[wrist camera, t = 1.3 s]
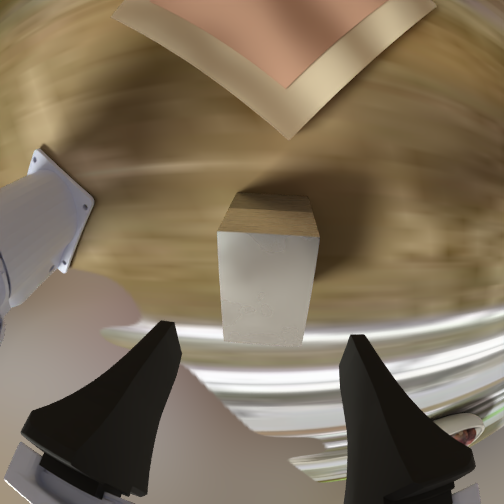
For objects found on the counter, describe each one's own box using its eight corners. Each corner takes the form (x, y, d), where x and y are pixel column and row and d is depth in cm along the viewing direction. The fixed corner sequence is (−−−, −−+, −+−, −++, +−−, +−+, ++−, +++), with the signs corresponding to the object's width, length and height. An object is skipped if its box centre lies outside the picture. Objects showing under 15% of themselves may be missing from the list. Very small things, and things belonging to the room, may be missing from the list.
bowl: (429, 454, 44) (433, 477, 38) (329, 470, 46) (329, 498, 39) (502, 393, 30) (513, 422, 23) (389, 418, 31) (397, 462, 24)
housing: (307, 196, 17) (320, 237, 12) (297, 286, 20) (301, 346, 15) (236, 192, 17) (217, 231, 12) (237, 282, 21) (224, 341, 15)
